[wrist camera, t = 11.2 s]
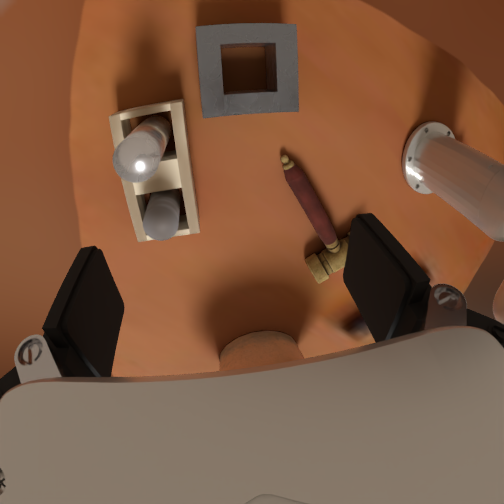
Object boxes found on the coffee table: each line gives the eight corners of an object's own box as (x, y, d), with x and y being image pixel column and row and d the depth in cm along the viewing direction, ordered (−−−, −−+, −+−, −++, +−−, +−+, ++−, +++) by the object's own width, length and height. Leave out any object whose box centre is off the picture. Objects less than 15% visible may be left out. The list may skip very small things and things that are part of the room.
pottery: (320, 318, 56) (346, 377, 45) (291, 376, 68) (306, 425, 57) (211, 320, 51) (219, 390, 39) (204, 381, 63) (211, 436, 51)
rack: (183, 98, 29) (180, 104, 24) (199, 217, 39) (200, 246, 33) (118, 111, 28) (100, 121, 23) (142, 226, 38) (134, 255, 32)
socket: (282, 30, 26) (296, 24, 22) (285, 106, 32) (298, 111, 28) (195, 33, 25) (195, 26, 21) (202, 112, 31) (203, 118, 27)
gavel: (251, 181, 34) (321, 139, 32) (246, 171, 38) (309, 133, 36) (321, 289, 45) (374, 256, 43) (312, 272, 49) (362, 242, 47)
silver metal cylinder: (169, 112, 30) (155, 132, 20) (173, 144, 32) (163, 178, 23) (136, 119, 30) (108, 142, 20) (141, 150, 32) (118, 186, 22)
